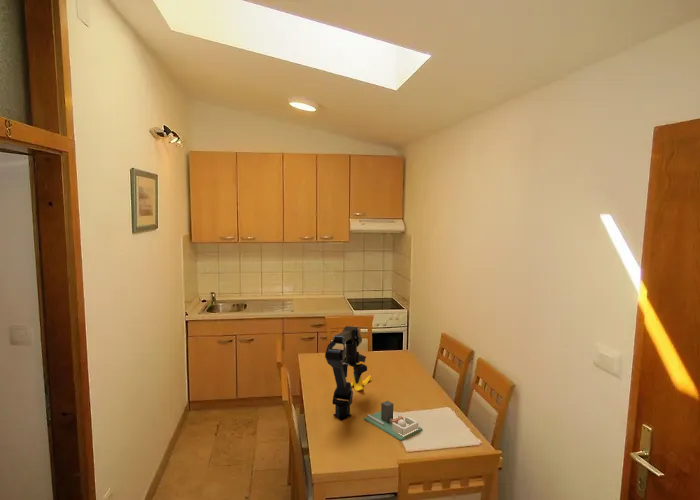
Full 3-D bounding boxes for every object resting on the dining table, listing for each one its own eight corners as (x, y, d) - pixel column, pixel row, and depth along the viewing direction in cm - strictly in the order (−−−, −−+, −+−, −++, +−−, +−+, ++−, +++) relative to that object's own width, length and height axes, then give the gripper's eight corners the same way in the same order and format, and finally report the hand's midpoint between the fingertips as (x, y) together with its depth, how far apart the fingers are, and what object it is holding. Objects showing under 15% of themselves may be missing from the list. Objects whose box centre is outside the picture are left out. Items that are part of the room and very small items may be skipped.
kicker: (393, 428, 188) (393, 411, 187) (379, 420, 195) (379, 403, 194) (402, 423, 192) (403, 407, 191) (388, 416, 199) (388, 399, 198)
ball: (394, 421, 189) (397, 430, 187) (399, 420, 186) (403, 429, 185) (400, 418, 191) (403, 427, 190) (406, 417, 188) (409, 426, 187)
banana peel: (362, 395, 224) (362, 364, 222) (338, 384, 238) (338, 356, 236) (382, 386, 236) (382, 357, 234) (358, 376, 249) (358, 349, 247)
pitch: (400, 441, 179) (400, 431, 179) (364, 419, 198) (364, 410, 197) (422, 430, 188) (422, 421, 187) (385, 410, 206) (385, 402, 206)
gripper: (375, 352, 210) (375, 382, 211) (351, 343, 224) (351, 371, 226) (358, 357, 203) (358, 388, 204) (335, 347, 217) (335, 376, 219)
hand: (351, 380), depth 213 cm, fingers open, 9 cm apart
